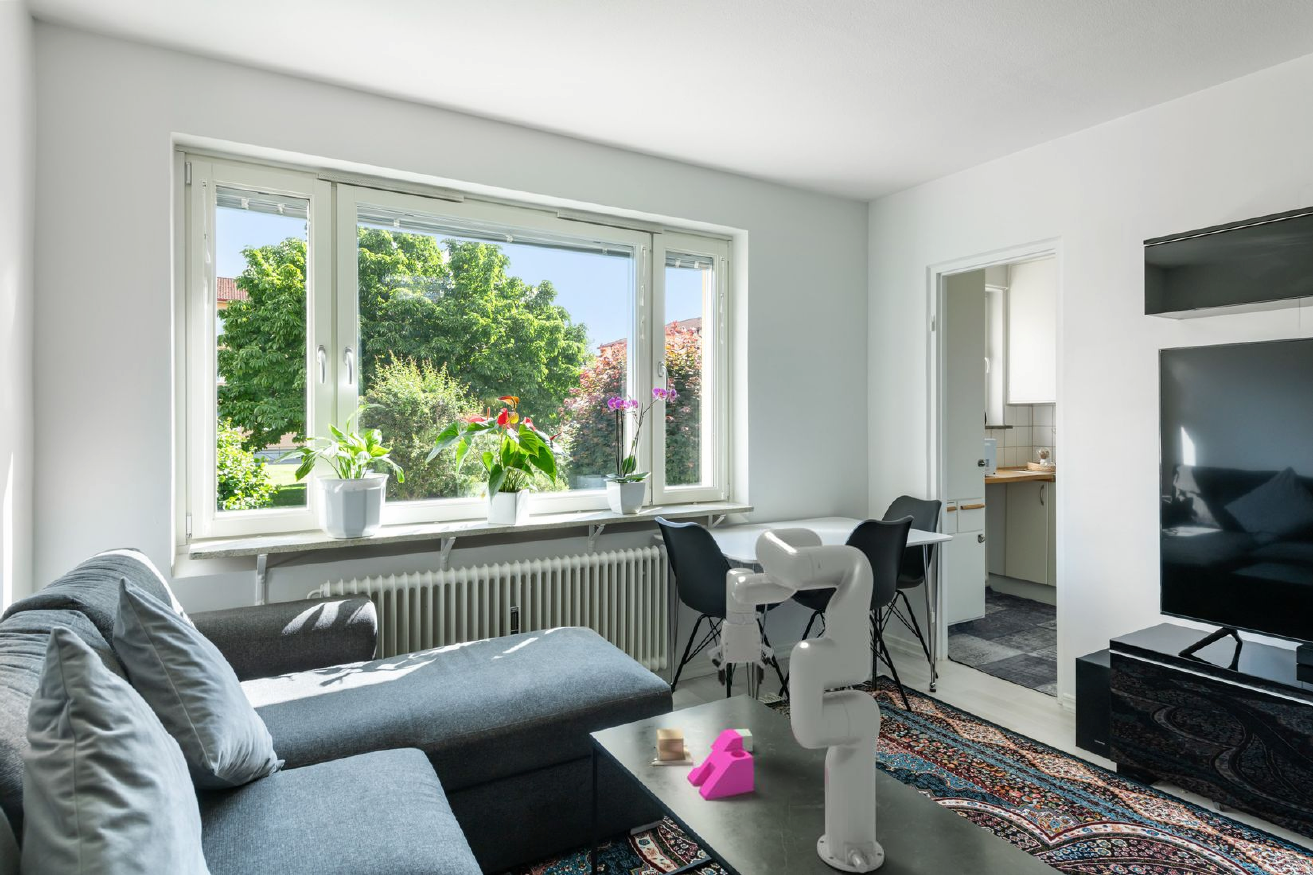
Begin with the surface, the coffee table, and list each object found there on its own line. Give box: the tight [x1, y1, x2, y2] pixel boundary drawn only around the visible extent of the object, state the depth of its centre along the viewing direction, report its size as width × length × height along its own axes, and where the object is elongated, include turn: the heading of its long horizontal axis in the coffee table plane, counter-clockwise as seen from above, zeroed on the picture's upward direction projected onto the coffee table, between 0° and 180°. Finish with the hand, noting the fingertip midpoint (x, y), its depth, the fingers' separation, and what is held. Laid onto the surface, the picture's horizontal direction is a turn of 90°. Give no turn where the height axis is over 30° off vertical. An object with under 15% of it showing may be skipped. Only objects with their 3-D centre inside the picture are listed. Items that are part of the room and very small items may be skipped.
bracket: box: [686, 728, 754, 801], centre depth 166 cm, size 12×10×10 cm
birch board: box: [651, 744, 694, 766], centre depth 180 cm, size 10×10×1 cm
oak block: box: [656, 728, 685, 760], centre depth 180 cm, size 6×6×5 cm
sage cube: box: [733, 728, 753, 752], centre depth 185 cm, size 4×4×4 cm
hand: (740, 683), depth 185 cm, fingers open, 9 cm apart
